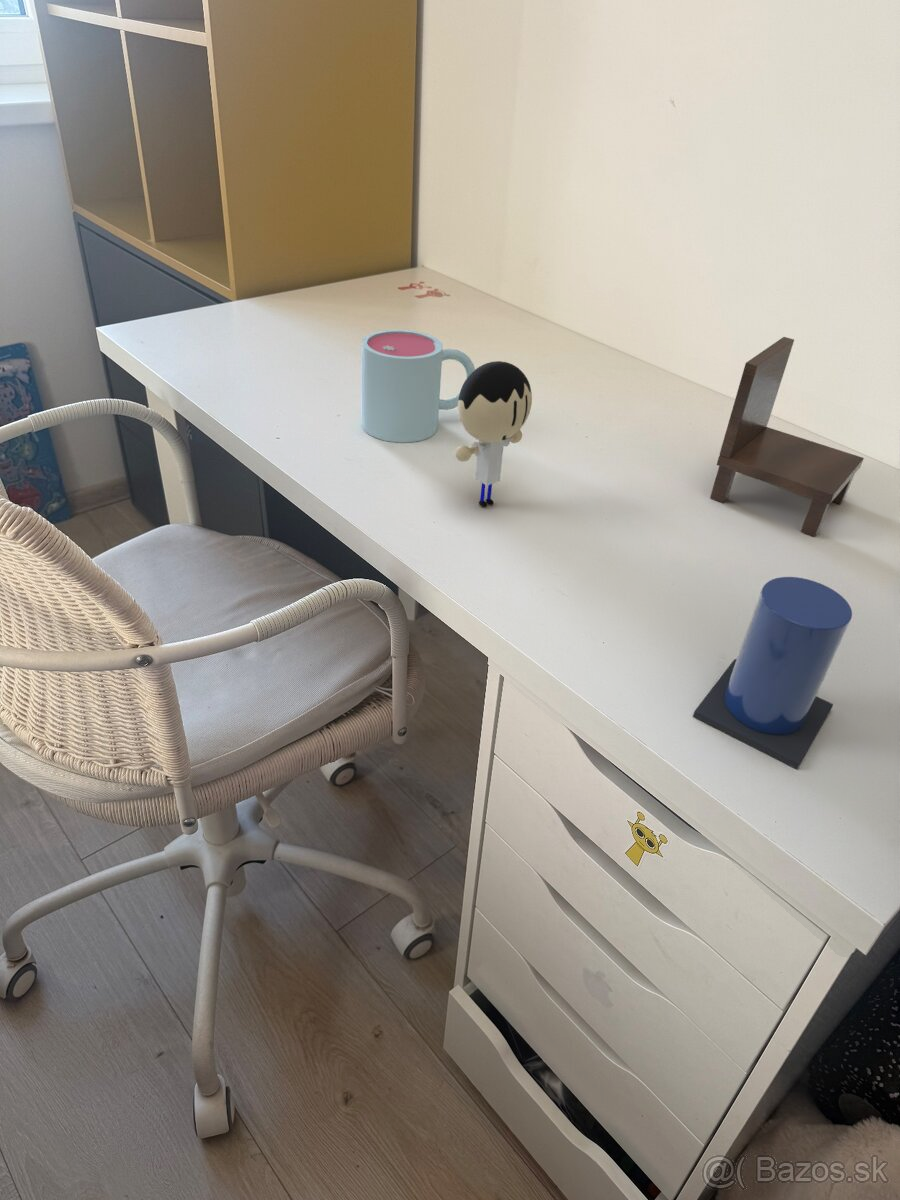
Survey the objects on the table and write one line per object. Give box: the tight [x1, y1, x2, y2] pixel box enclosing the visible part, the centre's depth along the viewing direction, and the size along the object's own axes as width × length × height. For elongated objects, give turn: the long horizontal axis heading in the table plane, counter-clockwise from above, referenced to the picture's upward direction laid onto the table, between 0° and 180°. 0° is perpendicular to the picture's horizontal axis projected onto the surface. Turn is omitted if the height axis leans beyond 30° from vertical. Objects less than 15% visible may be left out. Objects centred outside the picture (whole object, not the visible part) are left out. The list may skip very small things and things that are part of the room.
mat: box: [692, 658, 834, 770], centre depth 63 cm, size 8×8×1 cm
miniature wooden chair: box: [709, 336, 865, 538], centre depth 86 cm, size 12×11×15 cm
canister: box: [724, 576, 853, 735], centre depth 60 cm, size 6×6×10 cm
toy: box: [455, 360, 533, 508], centre depth 81 cm, size 9×7×15 cm
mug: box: [361, 329, 476, 444], centre depth 97 cm, size 14×9×10 cm
